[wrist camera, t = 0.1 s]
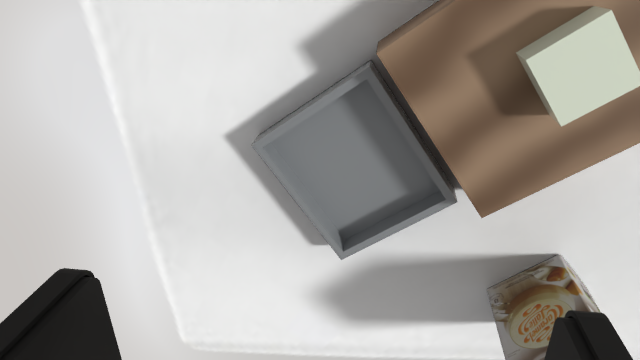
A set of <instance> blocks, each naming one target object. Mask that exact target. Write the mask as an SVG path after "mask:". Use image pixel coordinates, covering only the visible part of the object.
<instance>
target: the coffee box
mask: <svg viewBox="0 0 640 360" xmlns="http://www.w3.org/2000/svg"><path fill="white" fill-rule="evenodd" d="M487 293H488V297H489V300H490V304H491V307H492V311H493V315H494V318H495V322H496V326H497V330H498V334H499V337H500V341H501V345H502V348H503V352H504V356H505V360H544V359H545V355H546V351H547V348H548V344H549V340H550V337H551V333H552V330H553V326H554V322H555V320H556V318H557V317H565V314H566V313H567V312H568V311H569V310H575V311H587V312H599V313H601V312H600V310H599V309H598V307H597V305H596V303H595V302H594V300H593V298H592V296H591V294H590V293H589V291H588V289H587V287H586V286H585V285H584V283H583V282H582V281H581V279H580V278H579V277H578V275H577V274H576V273H575V271H574V270H573V269H572V268H571V266H570V265H569V264H568V262H567V261H566V260H565V259H564V258H563V257H562V256H561V255H557V256H554V257H552V258H550V259H548V260H546V261H544V262H542V263H540V264H538V265H536V266H534V267H532V268H530V269H528V270H525V271H523V272H521V273H519V274H517V275H515V276H513V277H511V278H509V279H507V280H505V281H503V282H500V283H498V284H496V285H494V286H492V287H490V288H488V289H487Z"/></svg>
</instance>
